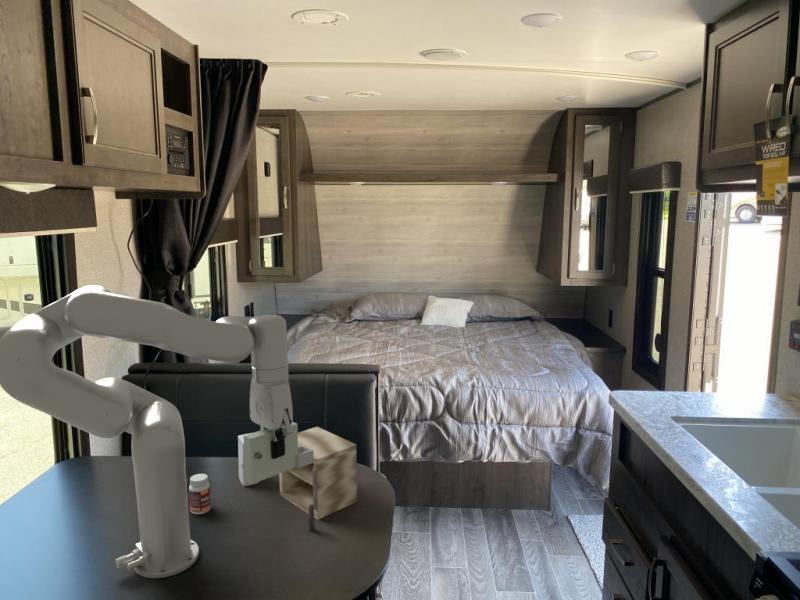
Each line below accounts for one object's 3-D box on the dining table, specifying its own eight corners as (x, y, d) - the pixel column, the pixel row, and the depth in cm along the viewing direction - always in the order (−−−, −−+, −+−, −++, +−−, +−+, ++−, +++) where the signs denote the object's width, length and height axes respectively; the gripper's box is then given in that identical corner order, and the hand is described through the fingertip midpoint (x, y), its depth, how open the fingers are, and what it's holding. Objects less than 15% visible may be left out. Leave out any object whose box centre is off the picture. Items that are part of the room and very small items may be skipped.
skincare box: (238, 477, 154) (236, 435, 152) (254, 473, 157) (252, 432, 155) (243, 487, 149) (241, 443, 147) (260, 483, 151) (258, 440, 149)
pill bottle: (204, 515, 135) (202, 482, 134) (186, 513, 136) (184, 480, 135) (214, 505, 140) (213, 473, 139) (197, 503, 141) (195, 471, 140)
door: (254, 485, 119) (252, 440, 117) (243, 479, 122) (241, 434, 120) (313, 462, 130) (313, 420, 129) (302, 456, 133) (301, 415, 132)
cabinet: (311, 532, 129) (309, 469, 126) (265, 501, 142) (263, 444, 140) (365, 506, 140) (364, 448, 137) (318, 479, 153) (317, 426, 151)
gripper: (234, 369, 124) (239, 449, 127) (277, 385, 113) (281, 472, 116) (264, 362, 129) (268, 439, 133) (307, 377, 119) (310, 460, 122)
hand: (274, 454), depth 124 cm, fingers closed on door, 2 cm apart
